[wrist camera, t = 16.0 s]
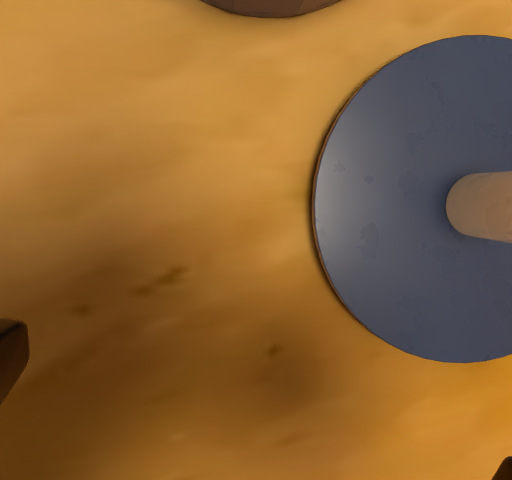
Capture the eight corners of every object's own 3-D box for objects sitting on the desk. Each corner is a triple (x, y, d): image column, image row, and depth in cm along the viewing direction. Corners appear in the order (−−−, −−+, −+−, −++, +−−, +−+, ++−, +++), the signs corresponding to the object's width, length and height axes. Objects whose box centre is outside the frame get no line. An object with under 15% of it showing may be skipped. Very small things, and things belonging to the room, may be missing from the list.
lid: (421, 413, 21) (498, 492, 16) (244, 170, 19) (259, 162, 14) (655, 234, 22) (812, 249, 16) (503, -23, 20) (621, -109, 14)
